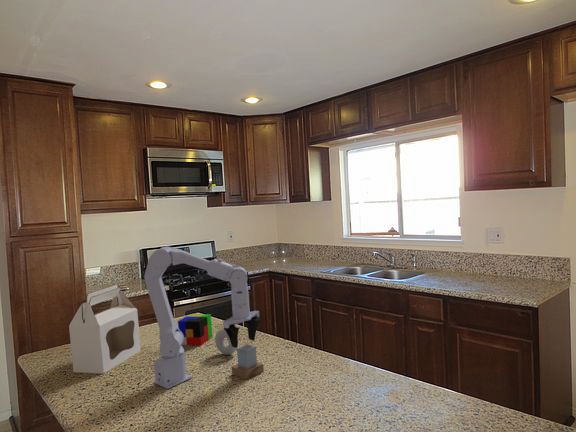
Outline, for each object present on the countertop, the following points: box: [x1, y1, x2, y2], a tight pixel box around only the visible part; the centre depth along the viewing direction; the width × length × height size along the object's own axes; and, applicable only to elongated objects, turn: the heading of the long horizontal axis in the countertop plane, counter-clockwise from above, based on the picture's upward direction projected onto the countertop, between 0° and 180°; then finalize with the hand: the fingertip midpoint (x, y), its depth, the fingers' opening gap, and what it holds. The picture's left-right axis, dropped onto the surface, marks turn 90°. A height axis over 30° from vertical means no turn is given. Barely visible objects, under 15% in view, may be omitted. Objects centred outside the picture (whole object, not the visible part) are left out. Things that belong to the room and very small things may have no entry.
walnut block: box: [231, 361, 264, 381], centre depth 135 cm, size 8×8×3 cm
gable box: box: [68, 284, 141, 375], centre depth 154 cm, size 22×13×28 cm, turn 165°
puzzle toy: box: [177, 313, 213, 346], centre depth 170 cm, size 10×10×10 cm
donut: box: [214, 328, 238, 356], centre depth 152 cm, size 10×4×10 cm, turn 61°
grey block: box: [235, 343, 258, 369], centre depth 134 cm, size 5×5×6 cm
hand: (243, 343), depth 135 cm, fingers open, 7 cm apart
